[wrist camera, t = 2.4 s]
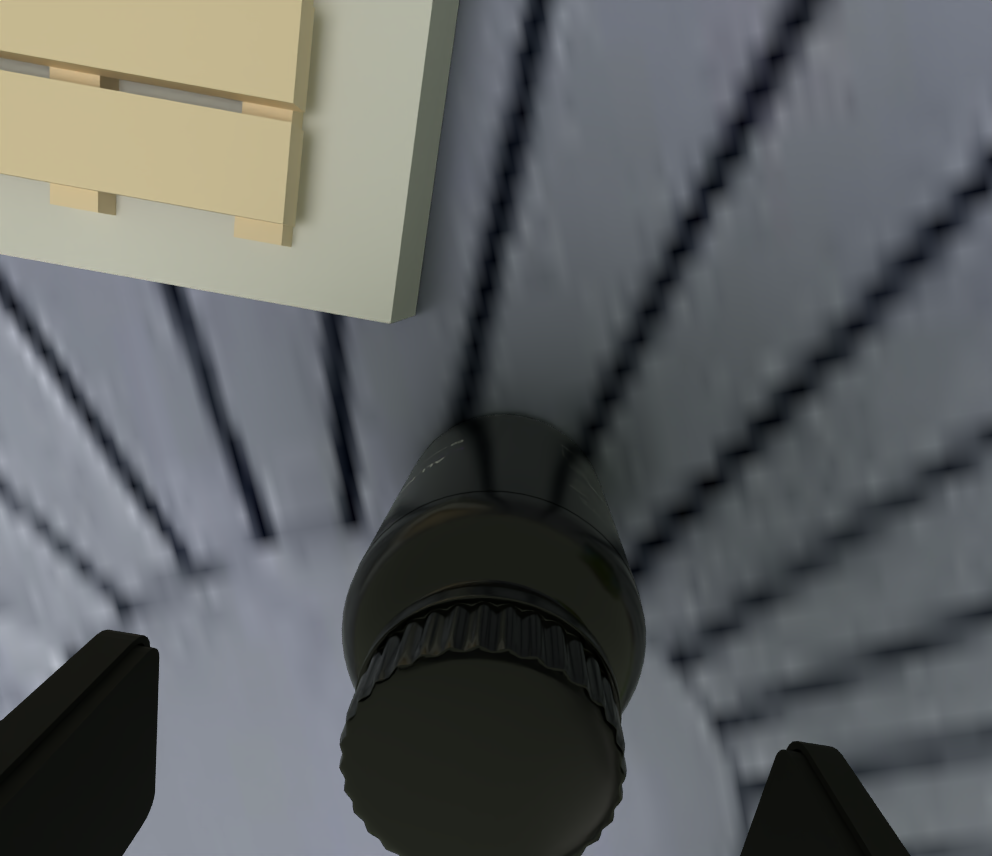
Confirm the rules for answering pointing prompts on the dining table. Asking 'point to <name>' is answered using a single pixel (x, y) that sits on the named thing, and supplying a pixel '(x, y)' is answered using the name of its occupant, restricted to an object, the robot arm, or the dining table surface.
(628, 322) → the dining table surface
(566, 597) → the supplement bottle
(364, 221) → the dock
